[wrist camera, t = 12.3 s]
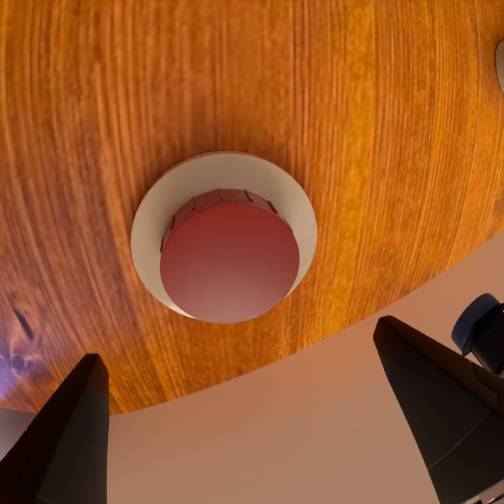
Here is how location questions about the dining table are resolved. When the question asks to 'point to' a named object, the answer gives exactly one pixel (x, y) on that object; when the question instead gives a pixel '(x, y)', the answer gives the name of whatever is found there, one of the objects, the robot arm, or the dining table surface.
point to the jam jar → (500, 64)
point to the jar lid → (228, 257)
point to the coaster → (208, 179)
